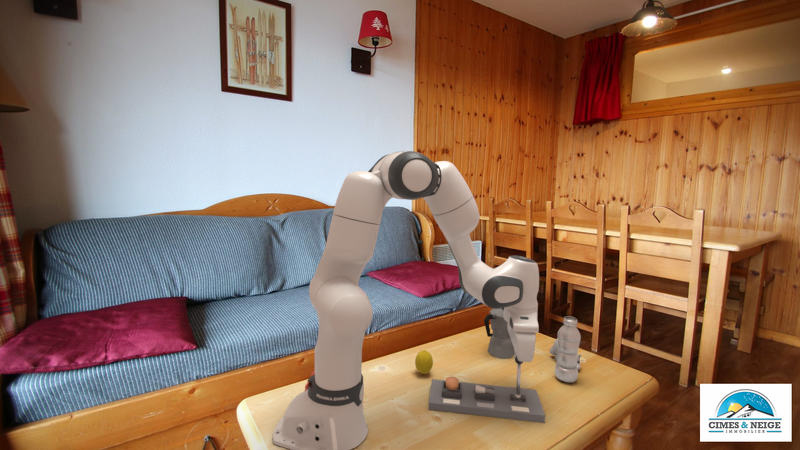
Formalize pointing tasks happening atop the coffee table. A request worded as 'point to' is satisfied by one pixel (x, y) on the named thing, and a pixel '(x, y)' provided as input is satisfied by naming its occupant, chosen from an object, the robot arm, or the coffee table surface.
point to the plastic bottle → (568, 351)
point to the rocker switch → (483, 390)
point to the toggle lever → (518, 378)
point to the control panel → (486, 401)
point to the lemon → (424, 362)
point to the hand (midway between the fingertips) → (517, 360)
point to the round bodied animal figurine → (555, 352)
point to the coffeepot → (498, 335)
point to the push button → (452, 383)
